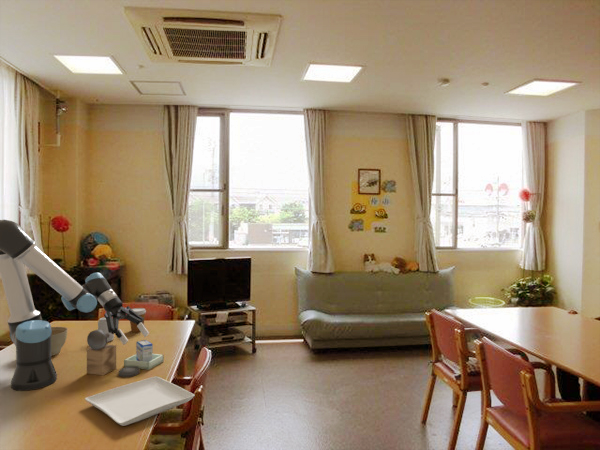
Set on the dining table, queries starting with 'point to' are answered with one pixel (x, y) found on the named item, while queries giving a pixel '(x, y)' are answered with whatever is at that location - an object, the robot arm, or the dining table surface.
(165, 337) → the dining table surface
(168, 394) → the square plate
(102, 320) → the can
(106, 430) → the dining table surface
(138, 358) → the medicine box
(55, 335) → the planter bowl
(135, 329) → the disposable coffee cup
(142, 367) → the tray
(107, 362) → the pulley stand
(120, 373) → the dark grey round puck
